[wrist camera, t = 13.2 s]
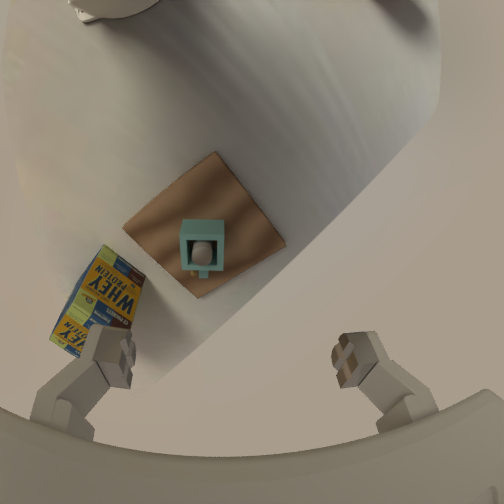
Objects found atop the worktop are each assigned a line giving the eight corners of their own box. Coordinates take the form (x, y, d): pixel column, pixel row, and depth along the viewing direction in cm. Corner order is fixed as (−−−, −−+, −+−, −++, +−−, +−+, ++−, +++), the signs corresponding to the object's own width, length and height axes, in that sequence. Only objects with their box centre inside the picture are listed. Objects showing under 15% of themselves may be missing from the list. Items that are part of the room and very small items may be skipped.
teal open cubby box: (182, 219, 43) (179, 234, 39) (224, 219, 44) (224, 234, 40) (186, 270, 49) (183, 287, 45) (222, 271, 49) (222, 288, 46)
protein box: (147, 274, 50) (129, 338, 37) (111, 311, 55) (93, 368, 42) (104, 242, 45) (72, 301, 32) (73, 285, 50) (47, 340, 37)
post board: (124, 224, 43) (110, 248, 37) (215, 151, 38) (213, 164, 32) (198, 294, 54) (196, 321, 48) (284, 241, 49) (293, 266, 43)
